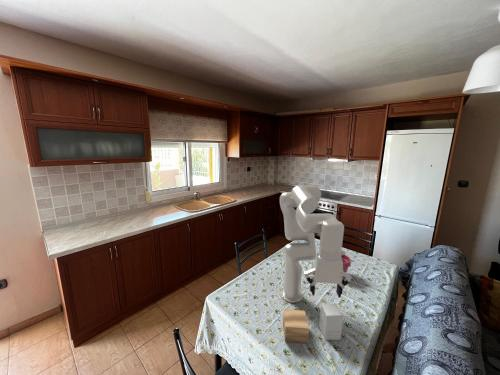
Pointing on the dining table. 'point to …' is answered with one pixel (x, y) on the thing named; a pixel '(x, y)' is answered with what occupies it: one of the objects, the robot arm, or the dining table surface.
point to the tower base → (295, 337)
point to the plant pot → (346, 262)
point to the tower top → (295, 322)
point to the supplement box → (331, 321)
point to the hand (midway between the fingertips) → (325, 293)
